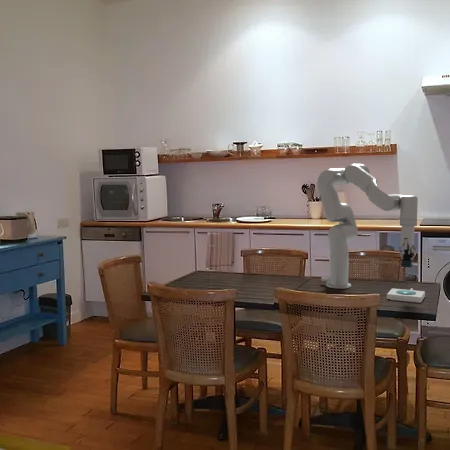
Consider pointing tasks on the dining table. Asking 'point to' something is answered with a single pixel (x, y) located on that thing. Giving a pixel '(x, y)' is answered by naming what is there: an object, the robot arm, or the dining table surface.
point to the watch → (409, 262)
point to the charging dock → (406, 295)
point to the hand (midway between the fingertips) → (407, 261)
